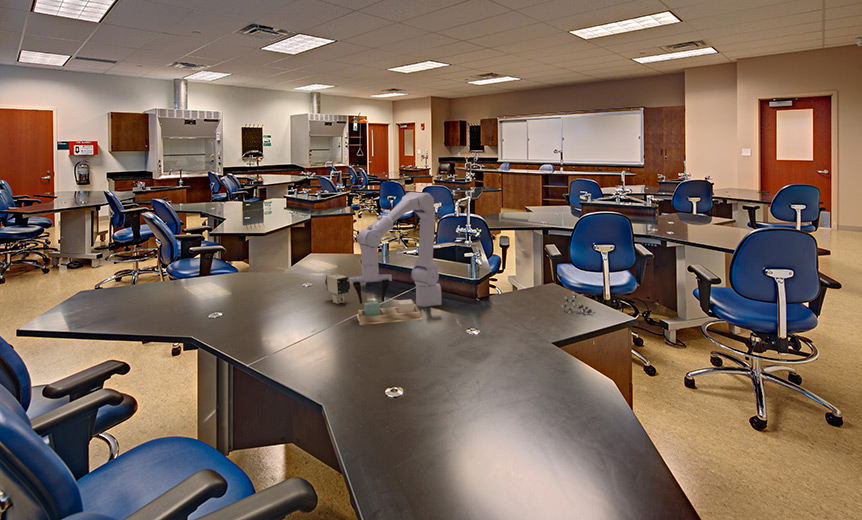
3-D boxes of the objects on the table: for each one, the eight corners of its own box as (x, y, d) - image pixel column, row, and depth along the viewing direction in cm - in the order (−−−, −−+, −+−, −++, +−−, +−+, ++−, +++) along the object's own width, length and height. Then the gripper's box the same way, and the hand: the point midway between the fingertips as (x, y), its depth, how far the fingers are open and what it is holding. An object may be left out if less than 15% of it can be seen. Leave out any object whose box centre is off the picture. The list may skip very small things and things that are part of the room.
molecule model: (592, 323, 177) (601, 302, 177) (560, 309, 179) (569, 288, 179) (589, 322, 183) (598, 302, 183) (558, 309, 185) (567, 289, 186)
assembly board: (416, 312, 186) (416, 304, 185) (423, 322, 175) (423, 313, 174) (356, 317, 181) (356, 309, 181) (360, 328, 170) (359, 319, 169)
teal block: (378, 315, 180) (378, 301, 179) (380, 319, 175) (379, 305, 174) (364, 316, 178) (364, 303, 177) (366, 320, 174) (365, 307, 173)
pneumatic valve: (341, 306, 195) (339, 276, 193) (325, 301, 204) (324, 272, 201) (353, 304, 199) (351, 274, 196) (337, 298, 207) (336, 270, 205)
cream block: (411, 312, 182) (411, 299, 181) (414, 316, 177) (413, 303, 176) (397, 313, 181) (397, 300, 180) (400, 317, 176) (399, 304, 175)
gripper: (389, 260, 178) (390, 297, 181) (347, 263, 175) (350, 300, 177) (392, 264, 171) (393, 302, 174) (349, 267, 168) (351, 306, 171)
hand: (371, 301), depth 175 cm, fingers open, 7 cm apart
